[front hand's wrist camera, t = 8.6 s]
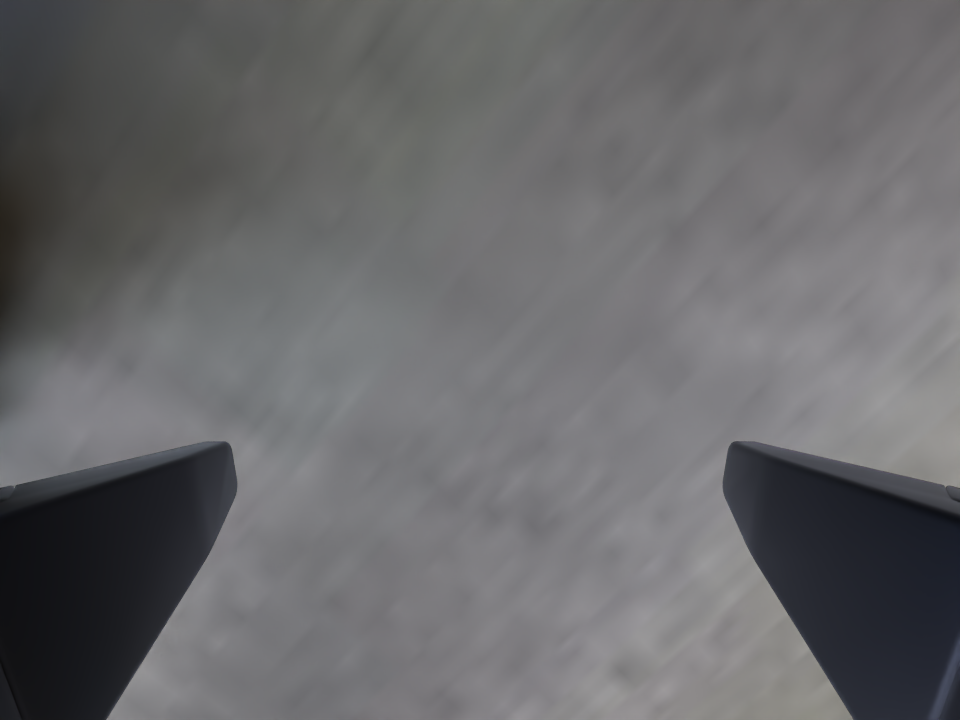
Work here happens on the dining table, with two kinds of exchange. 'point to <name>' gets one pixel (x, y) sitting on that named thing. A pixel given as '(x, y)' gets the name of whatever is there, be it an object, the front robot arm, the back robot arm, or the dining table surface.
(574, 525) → the dining table surface
